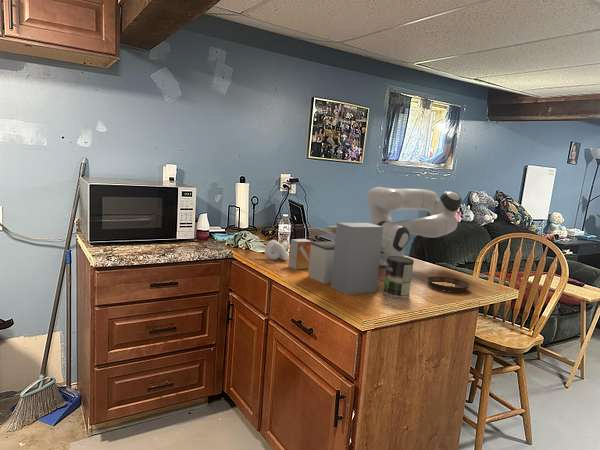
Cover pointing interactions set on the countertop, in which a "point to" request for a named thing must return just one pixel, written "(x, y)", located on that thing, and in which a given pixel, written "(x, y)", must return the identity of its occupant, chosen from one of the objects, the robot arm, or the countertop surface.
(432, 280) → the plant saucer
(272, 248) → the grey rounded lump
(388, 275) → the coffee can
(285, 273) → the countertop surface
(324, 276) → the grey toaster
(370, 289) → the grey stand
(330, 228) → the birch slat
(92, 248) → the countertop surface
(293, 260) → the small box
